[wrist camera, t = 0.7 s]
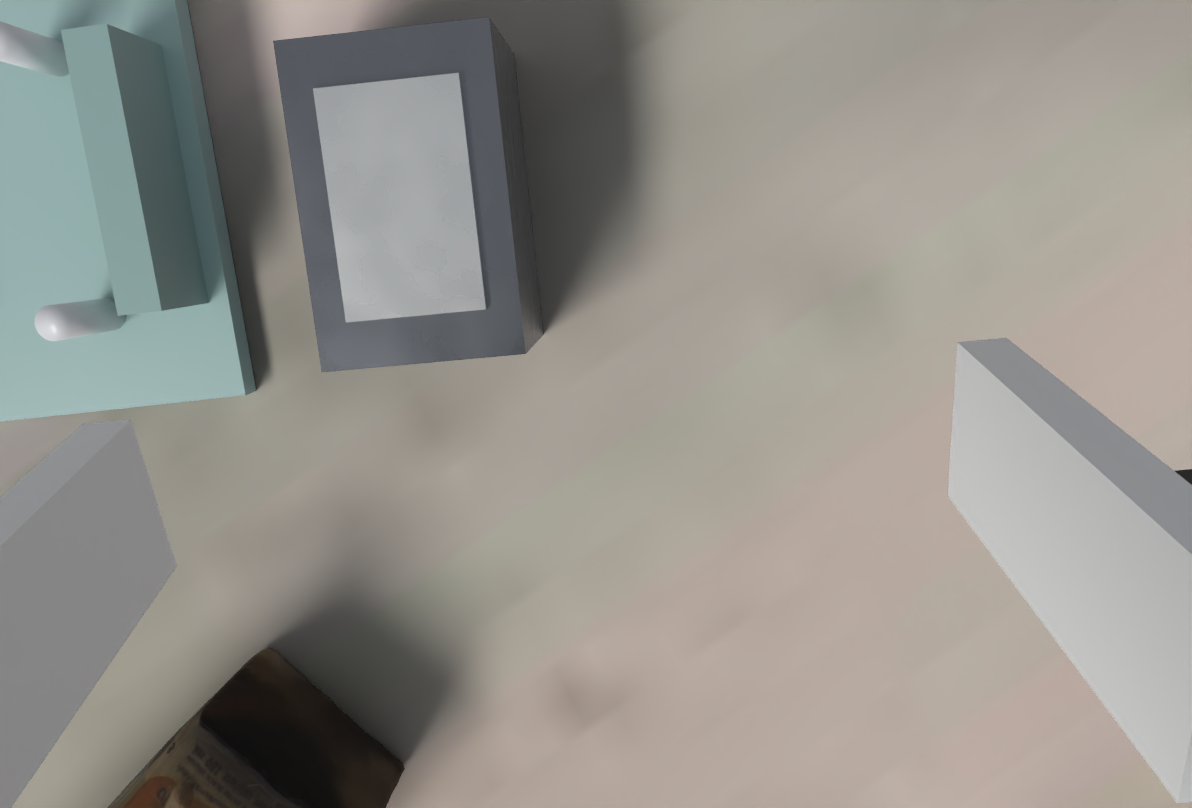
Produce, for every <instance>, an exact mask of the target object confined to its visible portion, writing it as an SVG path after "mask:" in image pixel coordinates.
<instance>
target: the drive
mask: <svg viewBox="0 0 1192 808" xmlns="http://www.w3.org/2000/svg"><path fill="white" fill-rule="evenodd" d="M273 43H274V49H275V56H276V63H277V70H278V77H279V84H280V90H281V97H282V104H283V111H284V118H285V124H286V131H287V138H288V145H289V152H290V159H291V165H292V172H293V179H294V186H295V193H296V200H297V206H298V213H299V220H300V227H301V234H302V240H303V247H304V254H305V261H306V268H307V275H308V281H309V288H310V295H311V302H312V309H313V316H314V322H315V329H316V336H317V343H318V350H319V356H320V363H321V370H322V372H330V371H341V370H352V369H363V368H374V367H385V366H396V365H407V364H418V363H430V362H441V361H452V360H463V359H474V358H485V357H496V356H507V355H518V354H526V353H527V352H528V351H529V350H530V349H531V347H532V346H533V345H534V344H535V343H536V342H537V341H538V340H539V339H540V338H541V337H542V335H543V334H544V333H543V324H542V314H541V305H540V295H539V286H538V276H537V267H536V257H535V248H534V238H533V229H532V219H531V210H530V200H529V191H528V181H527V172H526V162H525V153H524V143H523V134H522V124H521V115H520V105H519V96H518V87H517V77H516V68H515V58H514V53H513V51H512V50H511V48H510V47H509V46H508V44H507V43H506V41H505V40H504V38H503V37H502V35H501V34H500V32H499V31H498V29H497V28H496V26H495V25H494V24H493V22H492V21H491V19H490V18H489V17H484V18H475V19H466V20H457V21H448V22H439V23H430V24H421V25H412V26H403V27H394V28H385V29H376V30H367V31H358V32H349V33H340V34H331V35H322V36H313V37H304V38H295V39H286V40H277V41H273Z"/></svg>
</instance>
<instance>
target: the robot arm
mask: <svg viewBox="0 0 1192 808" xmlns="http://www.w3.org/2000/svg"><path fill="white" fill-rule="evenodd" d="M948 497H949V498H950V500H951V501H952V502H953V504H954V505H955V506H956V508H957V509H958V510H959V512H960V513H961V514H962V516H963V517H964V518H965V520H966V521H967V522H968V524H969V525H970V526H971V528H972V529H973V530H974V532H975V533H976V534H977V536H978V537H979V538H980V540H981V541H982V542H983V544H984V545H985V546H986V548H987V549H988V550H989V552H990V553H991V554H992V556H993V557H994V558H995V560H996V561H997V563H998V564H999V565H1000V567H1001V568H1002V569H1003V571H1004V572H1005V573H1006V575H1007V576H1008V577H1009V579H1010V580H1011V581H1012V583H1013V584H1014V585H1015V587H1016V588H1017V589H1018V591H1019V592H1020V593H1021V595H1022V596H1023V597H1024V599H1025V600H1026V601H1027V603H1028V604H1029V605H1030V607H1031V608H1032V609H1033V611H1034V612H1035V613H1036V615H1037V616H1038V617H1039V619H1040V620H1041V621H1042V623H1043V624H1044V625H1045V627H1046V628H1047V629H1048V631H1049V632H1050V633H1051V635H1052V636H1053V637H1054V639H1055V640H1056V641H1057V643H1058V644H1059V645H1060V647H1061V648H1062V649H1063V651H1064V652H1065V654H1066V655H1067V656H1068V658H1069V659H1070V660H1071V662H1072V663H1073V664H1074V666H1075V667H1076V668H1077V670H1078V671H1079V672H1080V674H1081V675H1082V676H1083V678H1084V679H1085V680H1086V682H1087V683H1088V684H1089V686H1090V687H1091V688H1092V690H1093V691H1094V692H1095V694H1096V695H1097V696H1098V698H1099V699H1100V700H1101V702H1102V703H1103V704H1104V706H1105V707H1106V708H1107V710H1108V711H1109V712H1110V714H1111V715H1112V716H1113V718H1114V719H1115V720H1116V722H1117V723H1118V724H1119V726H1120V727H1121V728H1122V730H1123V731H1124V732H1125V734H1126V735H1127V736H1128V738H1129V739H1130V740H1131V742H1132V743H1133V744H1134V746H1135V747H1136V749H1137V750H1138V751H1139V753H1140V754H1141V755H1142V757H1143V758H1144V759H1145V761H1146V762H1147V763H1148V765H1149V766H1150V767H1151V769H1152V770H1153V771H1154V773H1155V774H1156V775H1157V777H1158V778H1159V779H1160V781H1161V782H1162V783H1163V785H1164V786H1165V787H1166V789H1167V790H1168V791H1169V793H1170V794H1171V795H1172V797H1173V798H1174V799H1175V801H1176V802H1177V803H1187V802H1192V469H1190V470H1179V471H1174V470H1172V469H1171V468H1170V467H1168V466H1167V465H1166V464H1165V463H1163V462H1162V461H1161V460H1160V459H1158V458H1157V457H1156V456H1155V455H1153V454H1152V453H1151V452H1150V451H1148V450H1147V449H1146V448H1145V447H1143V446H1142V445H1141V444H1140V443H1138V442H1137V441H1136V440H1135V439H1133V438H1132V437H1131V436H1129V435H1128V434H1127V433H1126V432H1124V431H1123V430H1122V429H1121V428H1119V427H1118V426H1117V425H1116V424H1114V423H1113V422H1112V421H1111V420H1109V419H1108V418H1107V417H1106V416H1104V415H1103V414H1102V413H1101V412H1099V411H1098V410H1097V409H1095V408H1094V407H1093V406H1092V405H1090V404H1089V403H1088V402H1087V401H1085V400H1084V399H1083V398H1082V397H1080V396H1079V395H1078V394H1077V393H1075V392H1074V391H1073V390H1072V389H1070V388H1069V387H1068V386H1067V385H1065V384H1064V383H1063V382H1062V381H1060V380H1059V379H1058V378H1056V377H1055V376H1054V375H1053V374H1051V373H1050V372H1049V371H1048V370H1046V369H1045V368H1044V367H1043V366H1041V365H1040V364H1039V363H1038V362H1036V361H1035V360H1034V359H1033V358H1031V357H1030V356H1029V355H1028V354H1026V353H1025V352H1024V351H1022V350H1021V349H1020V348H1019V347H1017V346H1016V345H1015V344H1014V343H1012V342H1011V341H1010V340H1009V339H1007V338H999V339H988V340H977V341H967V342H958V344H957V360H956V375H955V391H954V407H953V423H952V438H951V454H950V470H949V486H948ZM176 567H177V566H176V563H175V559H174V556H173V553H172V550H171V547H170V543H169V540H168V537H167V534H166V531H165V527H164V524H163V521H162V518H161V515H160V511H159V508H158V505H157V502H156V499H155V495H154V492H153V489H152V486H151V483H150V479H149V476H148V473H147V470H146V467H145V463H144V460H143V457H142V454H141V451H140V447H139V444H138V441H137V438H136V435H135V431H134V428H133V425H132V422H131V420H121V421H110V422H100V423H89V424H83V425H82V426H80V427H79V428H78V429H77V430H76V431H75V432H74V433H73V434H71V435H70V436H69V437H68V438H67V439H66V440H65V441H63V442H62V443H61V444H60V445H59V446H58V447H57V448H56V449H54V450H53V451H52V452H51V453H50V454H49V455H48V456H47V457H45V458H44V459H43V460H42V461H41V462H40V463H39V464H38V465H36V466H35V467H34V468H33V469H32V470H31V471H30V472H28V473H27V474H26V475H25V476H24V477H23V478H22V479H21V480H19V481H18V482H17V483H16V484H15V485H14V486H13V487H12V488H10V489H9V490H8V491H7V492H6V493H5V494H4V495H3V496H1V497H0V808H11V807H12V806H13V804H14V803H15V801H16V800H17V798H18V797H19V795H20V794H21V793H22V791H23V790H24V788H25V787H26V785H27V784H28V782H29V781H30V779H31V778H32V777H33V775H34V774H35V772H36V771H37V769H38V768H39V766H40V765H41V763H42V762H43V760H44V759H45V758H46V756H47V755H48V753H49V752H50V750H51V749H52V747H53V746H54V744H55V743H56V742H57V740H58V739H59V737H60V736H61V734H62V733H63V731H64V730H65V728H66V727H67V726H68V724H69V723H70V721H71V720H72V718H73V717H74V715H75V714H76V712H77V711H78V709H79V708H80V707H81V705H82V704H83V702H84V701H85V699H86V698H87V696H88V695H89V693H90V692H91V691H92V689H93V688H94V686H95V685H96V683H97V682H98V680H99V679H100V677H101V676H102V675H103V673H104V672H105V670H106V669H107V667H108V666H109V664H110V663H111V661H112V660H113V659H114V657H115V656H116V654H117V653H118V651H119V650H120V648H121V647H122V645H123V644H124V642H125V641H126V640H127V638H128V637H129V635H130V634H131V632H132V631H133V629H134V628H135V626H136V625H137V624H138V622H139V621H140V619H141V618H142V616H143V615H144V613H145V612H146V610H147V609H148V608H149V606H150V605H151V603H152V602H153V600H154V599H155V597H156V596H157V594H158V593H159V591H160V590H161V589H162V587H163V586H164V584H165V583H166V581H167V580H168V578H169V577H170V575H171V574H172V573H173V571H174V570H175V568H176Z"/></svg>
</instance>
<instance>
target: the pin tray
mask: <svg viewBox="0 0 1192 808" xmlns="http://www.w3.org/2000/svg"><path fill="white" fill-rule="evenodd" d="M254 391H256V387H255V382H254V376H253V370H252V365H251V359H250V353H249V348H248V342H247V336H246V331H245V325H244V319H243V314H242V308H241V302H240V297H239V291H238V286H237V280H236V274H235V269H234V263H233V257H232V252H231V246H230V240H229V235H228V229H227V223H226V218H225V212H224V206H223V201H222V195H221V189H220V184H219V178H218V173H217V167H216V161H215V156H214V150H213V144H212V139H211V133H210V127H209V122H208V116H207V110H206V105H205V99H204V93H203V88H202V82H201V76H200V71H199V65H198V60H197V54H196V48H195V43H194V37H193V31H192V26H191V20H190V14H189V9H188V3H187V0H0V422H1V421H10V420H19V419H28V418H38V417H47V416H56V415H66V414H75V413H84V412H94V411H103V410H112V409H121V408H131V407H140V406H149V405H159V404H168V403H177V402H187V401H196V400H205V399H214V398H224V397H233V396H242V395H247V394H250V393H252V392H254Z"/></svg>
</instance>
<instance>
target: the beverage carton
mask: <svg viewBox="0 0 1192 808" xmlns="http://www.w3.org/2000/svg"><path fill="white" fill-rule="evenodd" d="M403 770H404V766H403V763H401V762H400V761H399V760H398V759H397V758H396V757H394V756H393V755H392V754H391V753H390V752H388V751H387V750H386V749H385V748H384V747H383V745H381V744H380V743H378V742H377V741H376V740H374V739H373V738H372V737H370V736H369V735H368V734H367V733H365V732H364V731H363V730H362V729H361V728H360V727H359V726H358V725H357V724H356V723H355V722H354V721H352V720H351V719H350V718H349V717H348V716H347V715H346V714H344V713H343V712H342V711H341V710H339V709H338V708H337V706H336V705H335V704H334V703H333V702H332V701H331V700H330V699H329V698H328V697H327V696H325V695H324V694H323V693H322V692H320V691H319V690H318V689H317V688H315V687H314V686H313V685H312V684H311V683H310V682H309V681H308V680H307V679H306V678H305V677H304V676H303V675H301V674H300V673H299V672H298V671H296V670H295V669H294V668H293V667H292V666H291V665H290V664H289V663H288V662H287V661H286V660H285V659H283V658H282V657H281V656H280V655H279V654H278V653H277V652H276V651H275V650H273V649H271V648H269V649H265V650H263V651H261V652H259V653H258V654H257V655H255V656H254V657H253V658H252V659H250V660H249V661H248V662H247V663H246V664H245V665H244V666H243V667H242V668H241V669H240V670H239V671H238V672H237V673H236V674H235V675H234V676H233V677H232V678H231V679H230V680H229V681H228V682H227V683H226V684H225V685H224V686H223V687H222V688H221V689H220V690H219V691H218V692H217V693H216V694H215V695H214V696H213V697H212V698H211V699H210V700H209V701H208V702H207V703H206V704H205V705H204V706H203V707H202V708H201V709H200V710H199V711H198V712H197V713H196V714H195V715H194V716H193V717H192V718H191V719H190V720H189V721H188V722H187V723H186V724H185V725H184V726H183V727H182V728H180V730H179V731H178V732H177V733H176V734H175V735H174V736H173V737H172V738H171V739H170V740H169V741H168V742H167V743H166V744H165V745H164V747H163V748H162V749H161V750H160V751H159V752H158V753H157V754H156V755H155V756H154V757H153V758H152V759H151V761H150V762H149V763H148V764H147V765H146V766H145V767H144V768H143V769H142V770H141V771H140V772H139V773H138V775H137V776H136V777H135V778H134V779H133V780H132V781H131V782H130V783H129V785H128V786H127V787H126V788H125V789H124V790H123V791H122V792H121V794H120V795H119V796H118V797H117V798H116V799H115V800H114V801H113V803H112V804H111V805H110V806H109V807H108V808H386V805H387V803H388V801H389V799H390V796H391V794H392V792H393V790H394V789H395V787H396V785H397V783H398V781H399V779H400V776H401V774H402V772H403Z"/></svg>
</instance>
